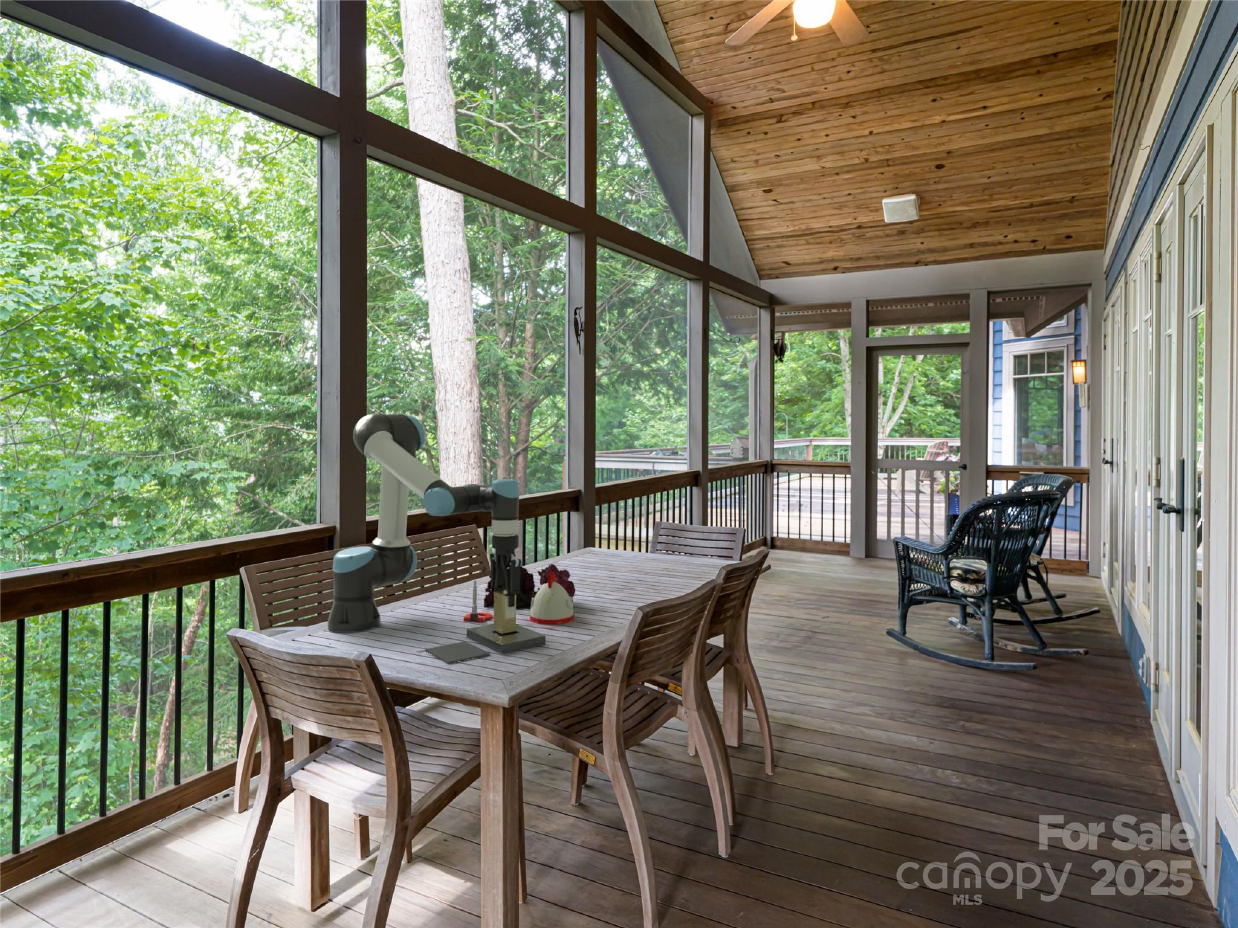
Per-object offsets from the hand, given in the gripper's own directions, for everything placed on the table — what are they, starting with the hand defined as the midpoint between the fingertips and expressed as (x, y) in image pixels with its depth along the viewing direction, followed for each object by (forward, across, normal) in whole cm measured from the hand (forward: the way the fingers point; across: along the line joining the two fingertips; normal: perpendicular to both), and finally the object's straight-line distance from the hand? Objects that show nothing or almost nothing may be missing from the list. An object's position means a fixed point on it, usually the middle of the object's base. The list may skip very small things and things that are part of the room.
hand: (504, 615), depth 205 cm
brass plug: (+4, 0, 0) cm, 4 cm away
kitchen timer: (+7, +12, -24) cm, 28 cm away
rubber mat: (+7, -2, +16) cm, 18 cm away
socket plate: (+7, 0, 0) cm, 7 cm away
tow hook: (+8, +27, -6) cm, 29 cm away
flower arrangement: (+8, +31, -29) cm, 43 cm away
